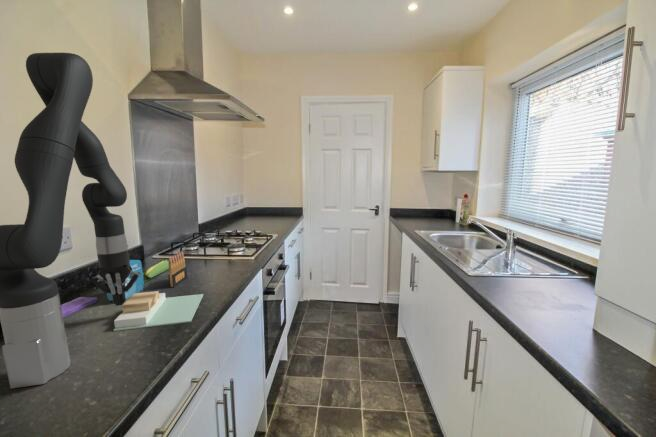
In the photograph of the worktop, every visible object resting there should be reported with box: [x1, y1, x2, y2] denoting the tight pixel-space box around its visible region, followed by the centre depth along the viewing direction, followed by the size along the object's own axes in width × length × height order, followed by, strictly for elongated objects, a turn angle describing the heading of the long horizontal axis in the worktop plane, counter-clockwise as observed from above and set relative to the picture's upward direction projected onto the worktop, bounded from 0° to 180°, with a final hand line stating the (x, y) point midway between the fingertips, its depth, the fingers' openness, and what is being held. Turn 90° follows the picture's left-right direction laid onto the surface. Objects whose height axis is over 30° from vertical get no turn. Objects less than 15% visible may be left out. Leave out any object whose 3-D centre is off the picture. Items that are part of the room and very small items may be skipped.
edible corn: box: [143, 259, 169, 283], centre depth 129 cm, size 5×20×5 cm, turn 1°
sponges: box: [61, 296, 98, 318], centre depth 97 cm, size 7×13×2 cm, turn 169°
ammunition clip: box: [168, 250, 189, 289], centre depth 118 cm, size 11×2×12 cm, turn 179°
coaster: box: [121, 290, 160, 313], centre depth 93 cm, size 9×7×2 cm
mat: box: [113, 293, 204, 332], centre depth 94 cm, size 20×20×1 cm
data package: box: [104, 259, 145, 302], centre depth 106 cm, size 12×4×12 cm, turn 174°
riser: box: [113, 292, 167, 329], centre depth 93 cm, size 18×8×2 cm, turn 13°
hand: (120, 304), depth 91 cm, fingers closed
